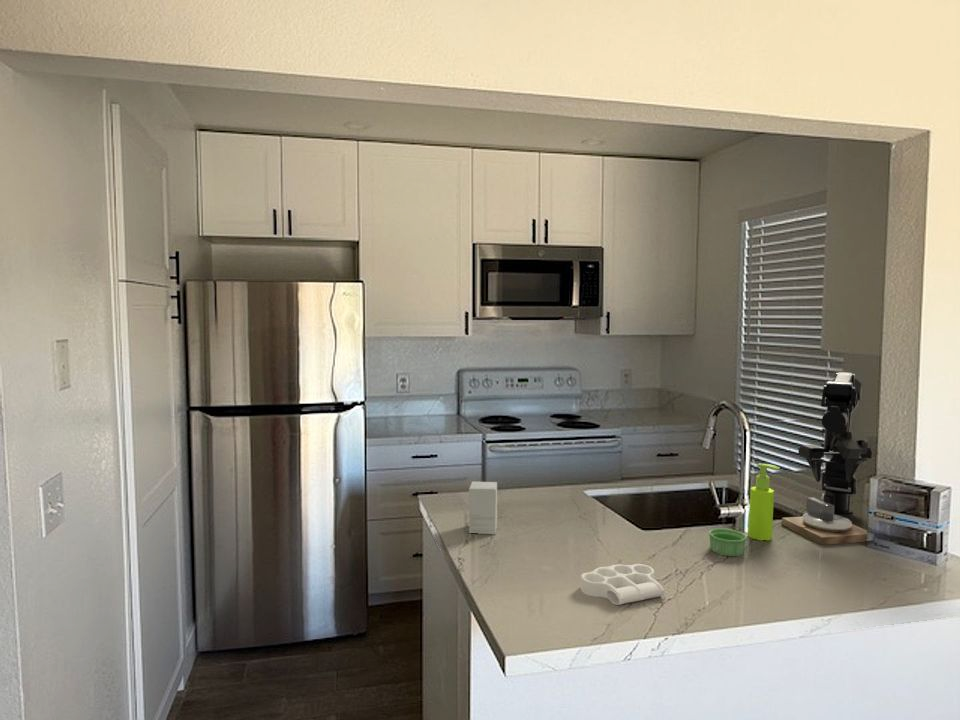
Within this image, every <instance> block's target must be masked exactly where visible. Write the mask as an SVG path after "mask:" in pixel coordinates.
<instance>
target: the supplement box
mask: <svg viewBox="0 0 960 720" xmlns="http://www.w3.org/2000/svg"><path fill="white" fill-rule="evenodd" d="M468 488H469V489H468V498H469V499H468V504H469V505H468V515H469V516H468V518H469V519H468V520H469V521H468V529H469V531H468V532H469V534H470V533H478V534H477V535H479V534H480V535H496V533H497V527H498V482H497V481H473V480H471V484H470V485H469V487H468Z"/></svg>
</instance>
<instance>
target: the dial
mask: <svg viewBox="0 0 960 720" xmlns="http://www.w3.org/2000/svg"><path fill="white" fill-rule="evenodd" d="M802 516H803V520H802V521H803V523H804V524H805V525H807V526H809V527H812V528H815V529H819V530H824V531H831V532H846V531H849V530H851V527H852V524H853V523H852V520H850V519H849V518H847V517H844V516H842V515H840V514H834V505H832V504H828V503H825V502H824V500H823V501H822V500H820V499H818V498H816V497H807V498H806V511H805V513H804V514H802Z"/></svg>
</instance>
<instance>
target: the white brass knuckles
mask: <svg viewBox="0 0 960 720" xmlns="http://www.w3.org/2000/svg"><path fill="white" fill-rule="evenodd" d="M580 592H581V593H583V594H584V595H586V596H590V597H595V598H597V597H598V598H599V597H601V598H606V599H608V600H609V601H610V603H612V604H613V605H616V606H619V605H623V604H629V603H634V602H639V601H643V600H649V599H650V600H651V599H655V598H660V597H664V596H665V593H666V592H665V589H664V587H663V585H662V584H661V583H660V582H659V581H657V580H656V579H655V570H654V568H653V567H651V566H649V565H646V564H643V563H635V564H619V563H618V564H612V565H610V566H600V567H597V568H595V569H594V570H592V571H588V572H583V573H582V574H581V575H580Z"/></svg>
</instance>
